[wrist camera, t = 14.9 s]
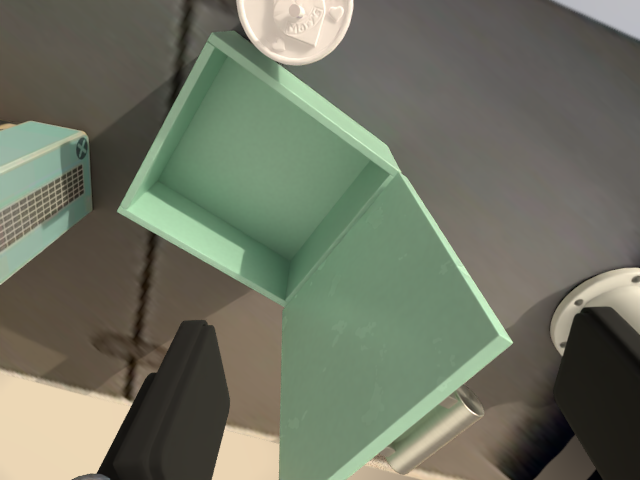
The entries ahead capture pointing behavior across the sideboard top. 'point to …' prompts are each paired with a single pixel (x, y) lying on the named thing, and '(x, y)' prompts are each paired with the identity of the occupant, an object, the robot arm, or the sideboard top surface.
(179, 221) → the mint green open crate
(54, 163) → the device
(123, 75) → the sideboard top surface
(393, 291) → the lid
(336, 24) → the smoothie
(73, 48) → the sideboard top surface
